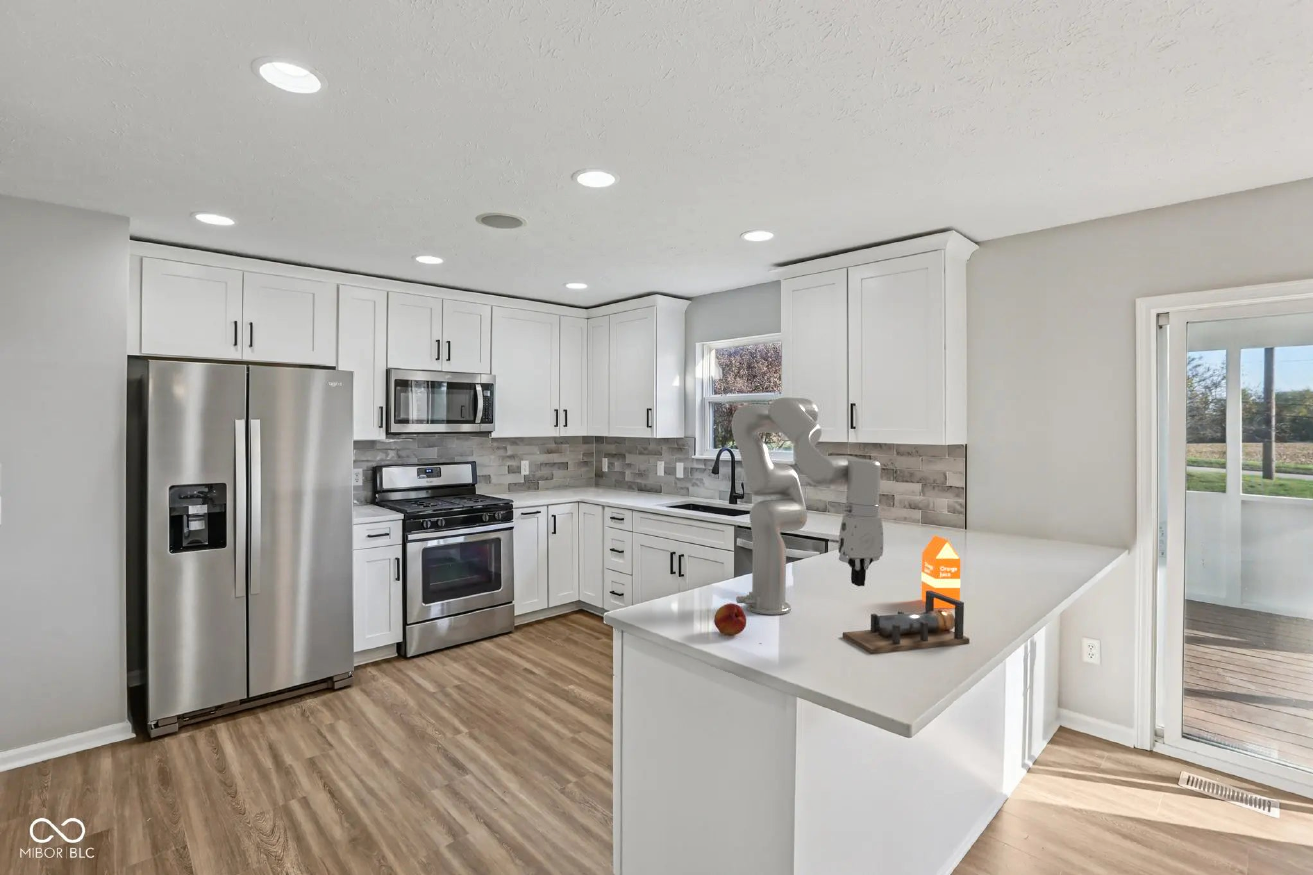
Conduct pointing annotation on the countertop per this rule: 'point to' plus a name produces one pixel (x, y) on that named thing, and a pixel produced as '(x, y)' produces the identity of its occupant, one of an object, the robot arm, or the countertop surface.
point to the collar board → (924, 639)
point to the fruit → (730, 619)
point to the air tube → (915, 622)
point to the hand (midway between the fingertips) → (857, 584)
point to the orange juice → (940, 571)
